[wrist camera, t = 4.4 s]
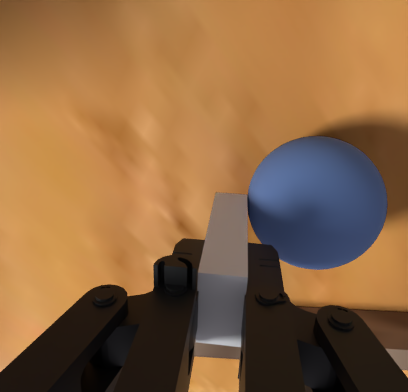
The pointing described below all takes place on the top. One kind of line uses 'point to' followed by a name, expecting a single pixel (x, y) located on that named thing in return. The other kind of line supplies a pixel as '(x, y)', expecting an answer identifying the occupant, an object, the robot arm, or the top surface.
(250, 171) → the top surface
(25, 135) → the top surface
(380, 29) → the top surface
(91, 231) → the top surface
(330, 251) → the ball
